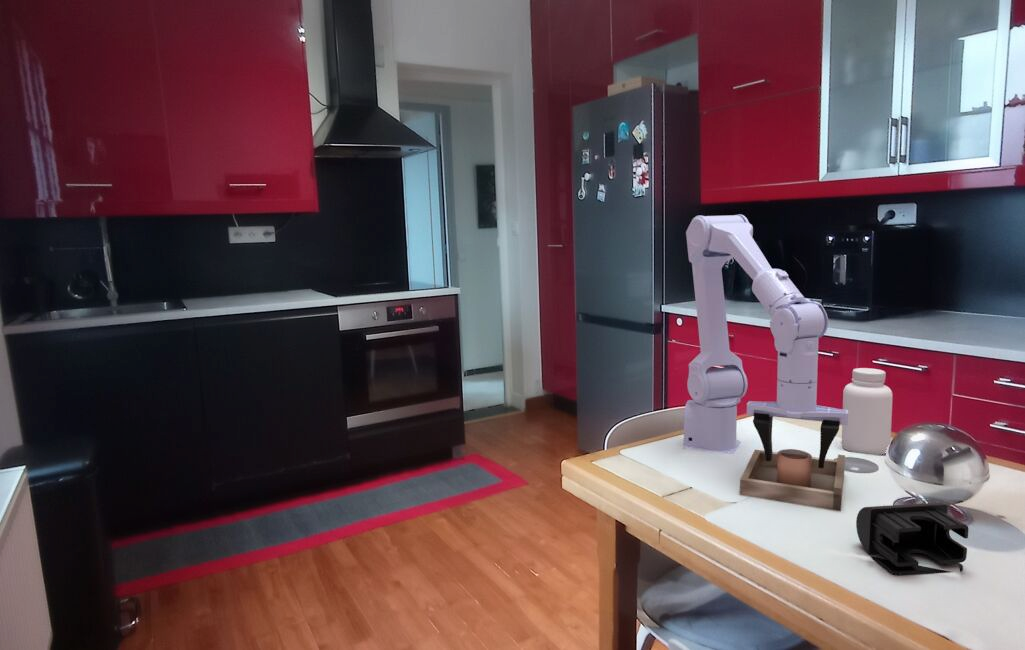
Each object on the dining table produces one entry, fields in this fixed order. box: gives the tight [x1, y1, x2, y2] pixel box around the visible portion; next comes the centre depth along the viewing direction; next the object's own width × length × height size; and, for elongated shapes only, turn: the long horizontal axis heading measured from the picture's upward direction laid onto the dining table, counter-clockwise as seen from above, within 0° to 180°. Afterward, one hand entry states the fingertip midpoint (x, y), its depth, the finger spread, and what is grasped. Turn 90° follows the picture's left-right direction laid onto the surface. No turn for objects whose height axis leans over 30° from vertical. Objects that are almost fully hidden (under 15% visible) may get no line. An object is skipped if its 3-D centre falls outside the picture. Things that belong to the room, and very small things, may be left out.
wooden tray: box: [739, 449, 846, 512], centre depth 101 cm, size 14×15×4 cm
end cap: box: [855, 502, 969, 577], centre depth 79 cm, size 10×7×7 cm
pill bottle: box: [841, 367, 893, 456], centre depth 117 cm, size 8×8×15 cm
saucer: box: [832, 456, 879, 474], centre depth 109 cm, size 7×7×1 cm
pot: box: [777, 448, 813, 488], centre depth 101 cm, size 5×5×5 cm
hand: (794, 462), depth 101 cm, fingers open, 7 cm apart
